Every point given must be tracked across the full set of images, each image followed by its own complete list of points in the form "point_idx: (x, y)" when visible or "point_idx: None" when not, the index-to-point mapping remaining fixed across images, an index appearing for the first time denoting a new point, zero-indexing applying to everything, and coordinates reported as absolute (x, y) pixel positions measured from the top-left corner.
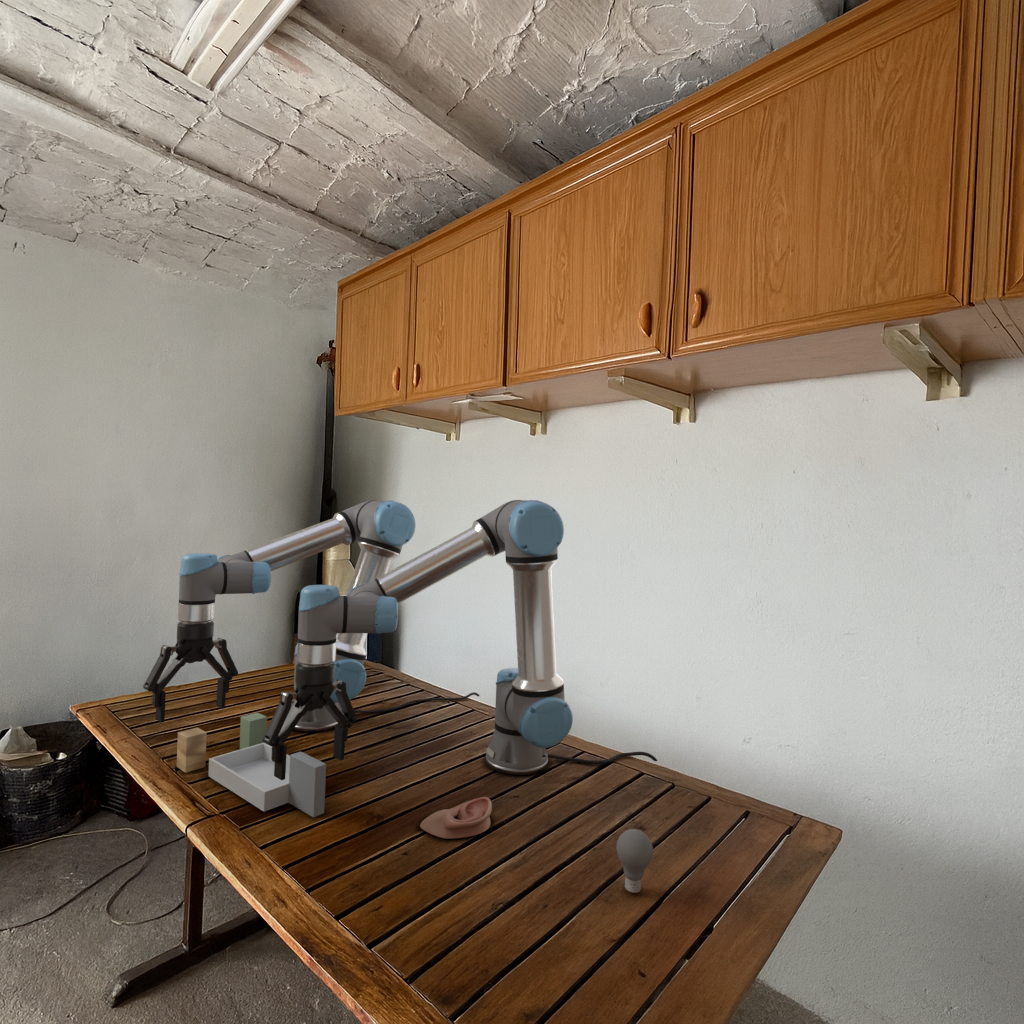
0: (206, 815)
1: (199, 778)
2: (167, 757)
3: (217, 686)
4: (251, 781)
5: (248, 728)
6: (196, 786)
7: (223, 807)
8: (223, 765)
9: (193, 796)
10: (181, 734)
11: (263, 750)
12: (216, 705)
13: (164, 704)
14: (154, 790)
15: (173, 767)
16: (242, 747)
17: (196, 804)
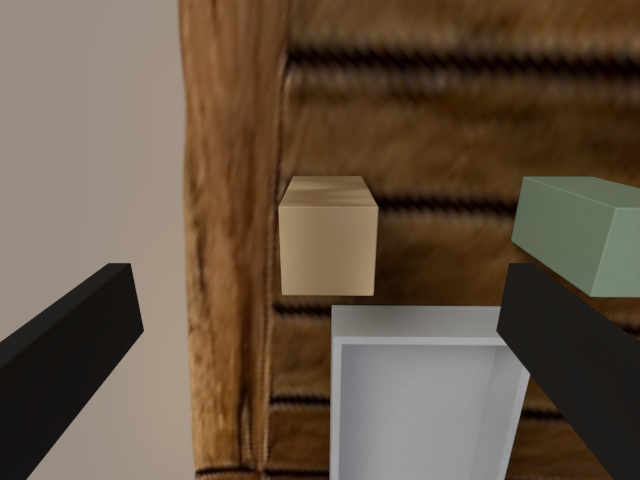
0: (238, 462)
1: (308, 299)
2: (305, 60)
3: (617, 355)
4: (386, 414)
5: (568, 269)
6: (280, 337)
7: (280, 457)
8: (338, 405)
9: (252, 378)
10: (281, 243)
11: None
12: (511, 269)
13: (71, 415)
14: (187, 287)
15: (285, 170)
16: (524, 200)
17: (242, 414)
